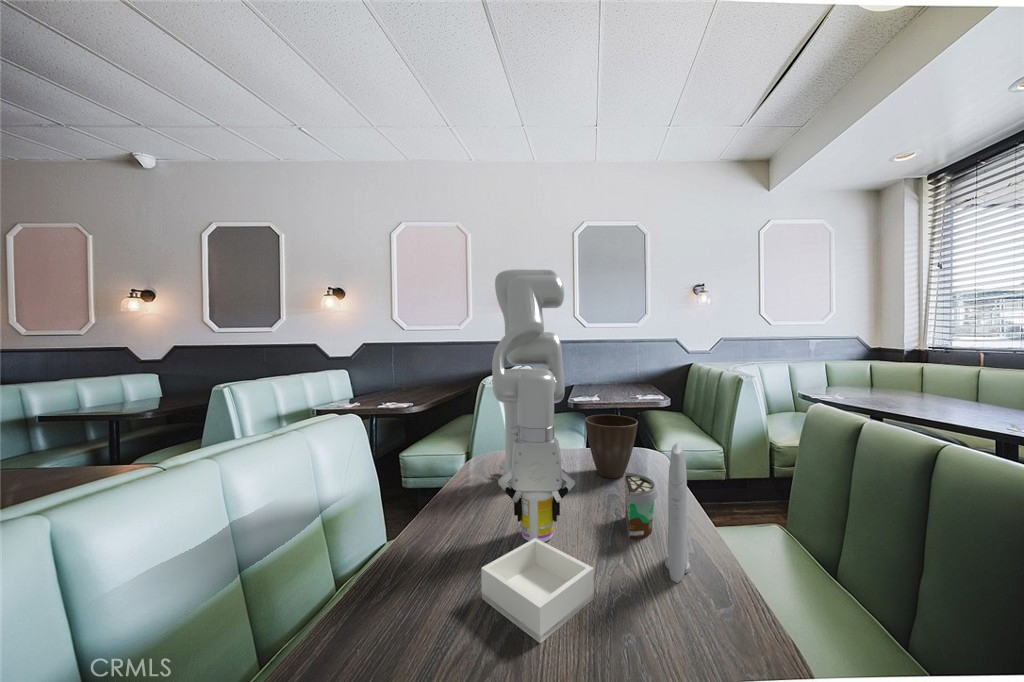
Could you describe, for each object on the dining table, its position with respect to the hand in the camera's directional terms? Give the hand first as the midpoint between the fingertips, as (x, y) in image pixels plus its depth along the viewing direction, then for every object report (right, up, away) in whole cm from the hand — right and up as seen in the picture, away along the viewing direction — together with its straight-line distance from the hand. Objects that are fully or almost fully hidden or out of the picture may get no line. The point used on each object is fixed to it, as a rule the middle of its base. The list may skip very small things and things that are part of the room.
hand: (536, 517), depth 81 cm
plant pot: (+24, -3, +34) cm, 42 cm away
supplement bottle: (0, -4, 0) cm, 4 cm away
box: (-1, -4, -19) cm, 19 cm away
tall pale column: (+25, -4, -11) cm, 27 cm away
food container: (+23, -4, +2) cm, 23 cm away
